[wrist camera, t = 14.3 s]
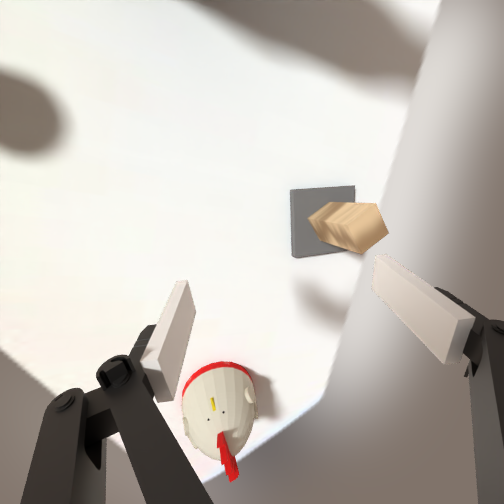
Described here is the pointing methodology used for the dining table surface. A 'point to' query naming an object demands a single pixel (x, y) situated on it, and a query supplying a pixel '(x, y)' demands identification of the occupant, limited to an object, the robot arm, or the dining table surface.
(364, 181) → the dining table surface
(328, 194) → the coaster mat
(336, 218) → the oak block
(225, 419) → the kitchen timer
